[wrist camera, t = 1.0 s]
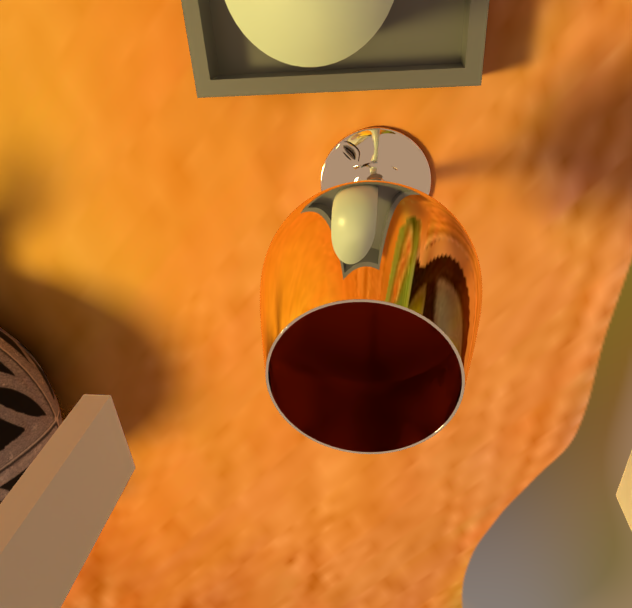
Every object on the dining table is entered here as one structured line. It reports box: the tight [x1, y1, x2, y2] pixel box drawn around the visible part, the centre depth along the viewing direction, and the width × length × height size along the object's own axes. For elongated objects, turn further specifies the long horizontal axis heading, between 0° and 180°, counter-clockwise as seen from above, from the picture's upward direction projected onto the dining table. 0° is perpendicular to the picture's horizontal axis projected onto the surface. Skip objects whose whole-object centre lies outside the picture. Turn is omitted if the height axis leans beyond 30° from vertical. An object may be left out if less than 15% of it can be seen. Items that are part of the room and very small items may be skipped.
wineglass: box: [260, 127, 482, 454], centre depth 22 cm, size 8×8×18 cm
